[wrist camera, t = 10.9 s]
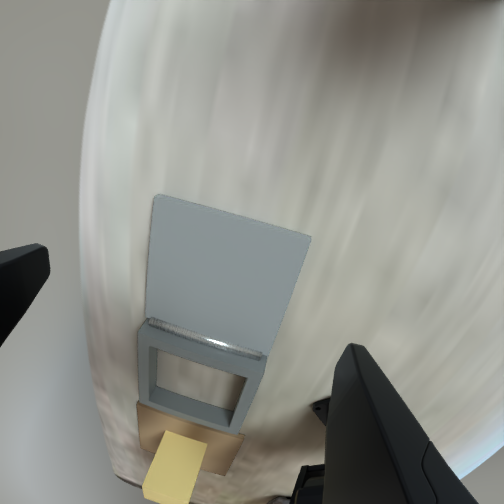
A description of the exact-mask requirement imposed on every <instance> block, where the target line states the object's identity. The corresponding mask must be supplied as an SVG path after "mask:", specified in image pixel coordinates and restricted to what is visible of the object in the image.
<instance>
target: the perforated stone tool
mask: <svg viewBox="0 0 504 504" xmlns="http://www.w3.org/2000/svg"><path fill="white" fill-rule="evenodd" d="M289 502H290V499H287V498H286V497H277V498H276V499H274V500H271V501H269V502H268V503H267V504H289Z"/></svg>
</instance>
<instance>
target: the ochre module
mask: <svg viewBox="0 0 504 504" xmlns="http://www.w3.org/2000/svg"><path fill="white" fill-rule="evenodd" d="M206 447H207V444H206V443H203V442H200V441H196V440H193V439H190V438H187V437H184V436H181V435H178V434H175V433H172V432H170V431H167V430H166V431H165V433H164V436H163V438H162V440H161V443H160V445H159V447H158V450H157V452H156V454H155V457H154V459H153V461H152V464H151V466H150V468H149V471H148V473H147V476H146V478H145V480H144V483H143V485H142V488H143V494H144V498H146V499H149V500H152V501H155V502H157V503H160V504H189V501H190V498H191V495H192V492H193V489H194V486H195V482H196V479H197V476H198V473H199V470H200V467H201V464H202V461H203V458H204V454H205V451H206Z"/></svg>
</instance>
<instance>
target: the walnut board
mask: <svg viewBox="0 0 504 504" xmlns="http://www.w3.org/2000/svg"><path fill="white" fill-rule="evenodd" d="M137 415H138V426H139V437H140V446H141V448H142V449H144V450H147V451H149V452H152V453H154V454H156V452H157V450H158V447H159V445H160V443H161V440H162V438H163V436H164V433H165V431H166V430H167V431H170V432H172V433H175V434H178V435H181V436H184V437H187V438H190V439H193V440H196V441H200V442H203V443H206V444H207V447H206V451H205V454H204V458H203V461H202V464H201V467H200V469H202V470H205V471H208V472H212V473H215V474H219V475H223V476H225V475H226V473H227V472H228V470H229V468H230V466H231V464H232V462H233V460H234V458H235V456H236V454H237V452H238V450H239V448H240V446H241V444H242V442H243V440H244V436H245V435H242V434H238V435H235V434H231V433H228V432H224V431H221V430H217V429H214V428H210V427H207V426H204V425H201V424H198V423H195V422H191V421H188V420H185V419H183V418H180V417H177V416H174V415H171V414H168V413H166V412H163V411H160V410H157V409H155V408H152V407H150V406H147V405H145V404H142V403H140V402H139V401H138V403H137Z"/></svg>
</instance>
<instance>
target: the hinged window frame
mask: <svg viewBox="0 0 504 504" xmlns="http://www.w3.org/2000/svg"><path fill="white" fill-rule="evenodd" d="M310 242H311V236H308V235H305V234H301V233H298V232H294V231H291V230H288V229H284V228H281V227H277V226H274V225H270V224H267V223H263V222H260V221H256V220H253V219H249V218H246V217H242V216H239V215H235V214H232V213H228V212H224V211H221V210H217V209H213V208H210V207H206V206H202V205H199V204H195V203H191V202H188V201H184V200H180V199H176V198H173V197H169V196H165V195H161V194H157V195H156V196H154V204H153V213H152V223H151V233H150V244H149V257H148V270H147V287H146V307H145V317H147V319H146V321H145V322H144V324H143V325H142V327H141V328H140V330H139V331H138V382H139V402H140V403H142V404H145V405H147V406H150V407H152V408H155V409H157V410H160V411H163V412H166V413H168V414H171V415H174V416H177V417H180V418H183V419H185V420H188V421H191V422H195V423H198V424H201V425H204V426H207V427H210V428H214V429H217V430H221V431H224V432H228V433H231V434H235V435H238V433H239V431H240V428H241V426H242V424H243V422H244V419H245V417H246V415H247V412H248V410H249V408H250V405H251V403H252V401H253V398H254V396H255V394H256V391H257V389H258V387H259V384H260V382H261V379H262V377H263V375H264V371H265V366H266V361H267V356H269V353H270V350H271V348H272V345H273V343H274V340H275V338H276V335H277V332H278V330H279V327H280V325H281V322H282V319H283V317H284V314H285V311H286V309H287V306H288V303H289V301H290V298H291V295H292V293H293V290H294V287H295V284H296V282H297V279H298V276H299V273H300V271H301V268H302V265H303V262H304V259H305V256H306V254H307V251H308V248H309V245H310ZM157 349H160V350H162V351H165V352H168V353H171V354H173V355H176V356H179V357H182V358H185V359H188V360H191V361H194V362H197V363H200V364H203V365H206V366H209V367H213V368H216V369H219V370H222V371H226V372H229V373H232V374H236V375H239V376H243V377H246V379H245V382H244V385H243V387H242V390H241V393H240V396H239V398H238V401H237V404H236V407H235V409H234V412H233V411H229V410H226V409H222V408H219V407H216V406H212V405H209V404H206V403H203V402H200V401H197V400H194V399H191V398H188V397H185V396H182V395H179V394H176V393H173V392H170V391H168V390H165V389H162V388H159V387H157V386H156V372H157Z"/></svg>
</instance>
